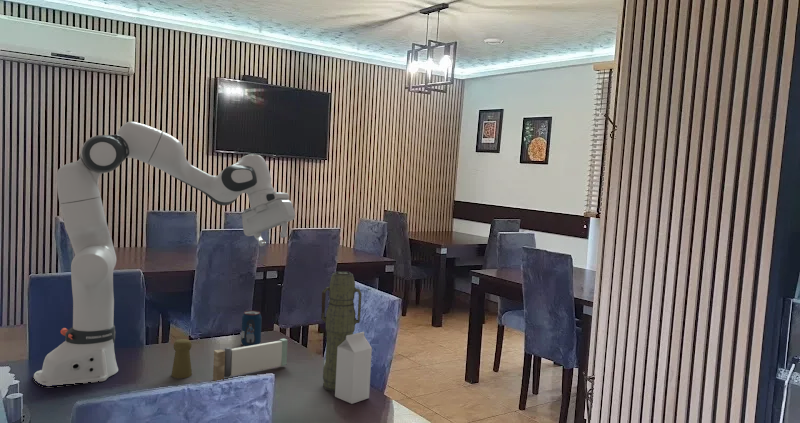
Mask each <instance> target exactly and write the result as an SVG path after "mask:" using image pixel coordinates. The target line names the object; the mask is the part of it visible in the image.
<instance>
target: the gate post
mask: <svg viewBox="0 0 800 423" xmlns="http://www.w3.org/2000/svg"><path fill="white" fill-rule="evenodd" d="M224 367H225V349H224V350H223V349H214V350H213V370H212V380H213V381H215V382H216V380H221V379H224V380H225V377H224Z"/></svg>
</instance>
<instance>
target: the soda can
mask: <svg viewBox="0 0 800 423" xmlns="http://www.w3.org/2000/svg"><path fill="white" fill-rule="evenodd" d="M262 319H263V318H262V314H261V312H260V310H254V309H253V310H250V309H249V310H245V311H244V312H243V315H242V317H241V334H240V335H241V336H240V342H241V343H242V347H245V346H251V345H257V344H261V341H262Z"/></svg>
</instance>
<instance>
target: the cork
mask: <svg viewBox="0 0 800 423" xmlns="http://www.w3.org/2000/svg"><path fill="white" fill-rule="evenodd" d="M192 345H193V344H192V342H191V340H190V339H186V338H180V339H176V340H175V341H174V342H173V350H174V351H175V352H174V357H173V364H172V370H171V373H170V374H171V375H170V377H172V378H174V379H187V378H190V377H192V375H193V371H192V370H193V369H192V363H191V355H190V354H191V353H190V350H191V349H192Z"/></svg>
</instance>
